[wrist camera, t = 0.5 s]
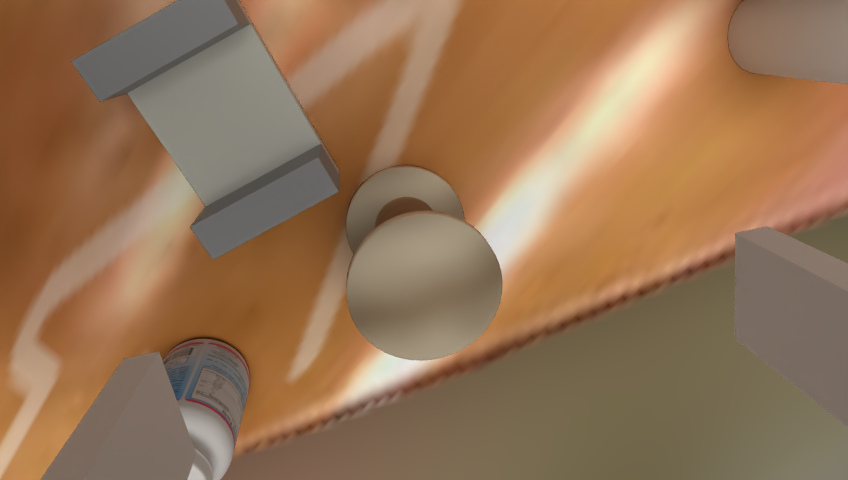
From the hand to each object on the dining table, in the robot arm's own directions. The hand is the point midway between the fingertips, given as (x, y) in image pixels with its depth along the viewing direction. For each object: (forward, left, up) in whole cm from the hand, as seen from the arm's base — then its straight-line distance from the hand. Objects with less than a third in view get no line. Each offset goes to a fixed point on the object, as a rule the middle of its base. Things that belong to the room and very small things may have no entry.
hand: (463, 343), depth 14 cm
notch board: (-6, -8, -26) cm, 27 cm away
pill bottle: (+8, -19, -26) cm, 33 cm away
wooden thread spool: (+5, -2, -26) cm, 26 cm away
